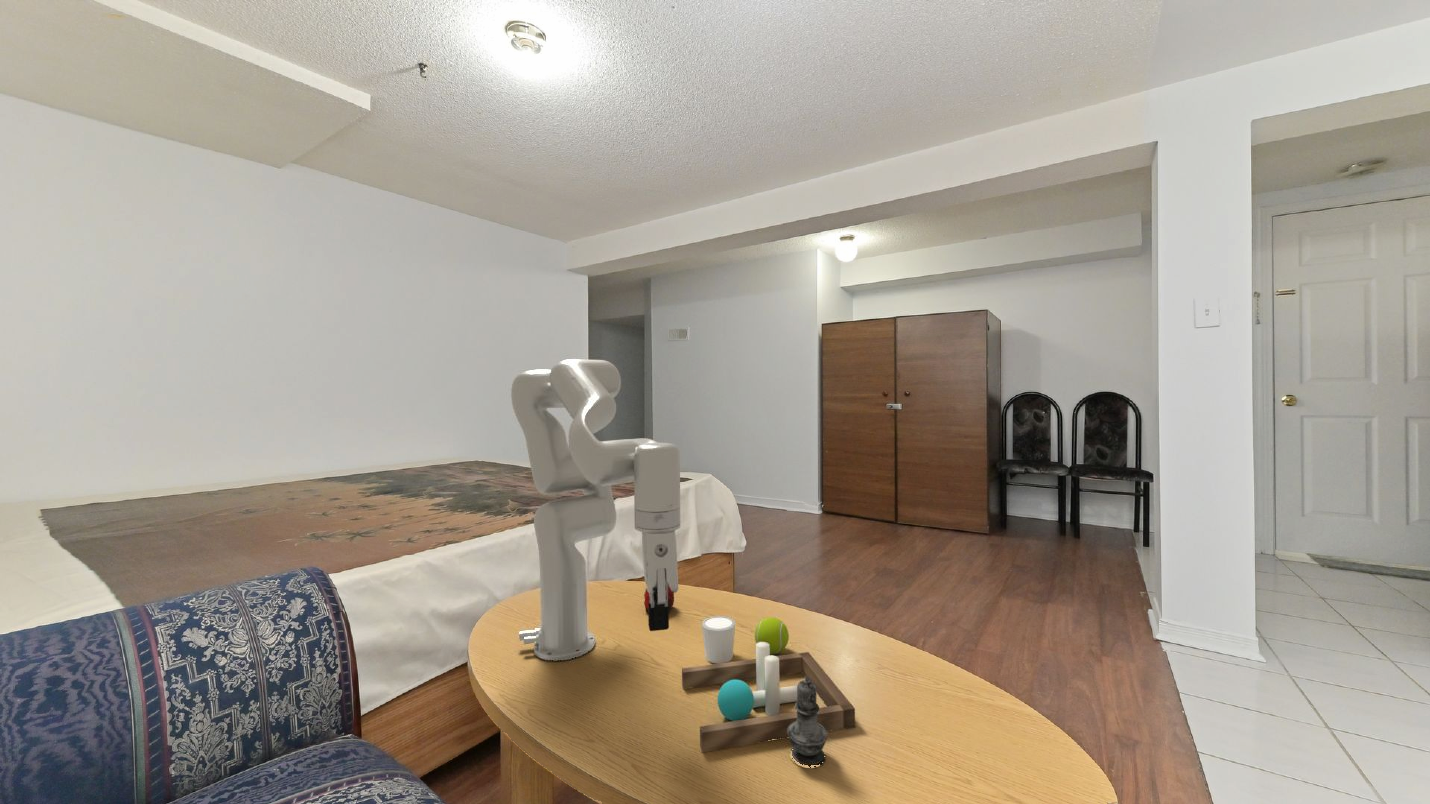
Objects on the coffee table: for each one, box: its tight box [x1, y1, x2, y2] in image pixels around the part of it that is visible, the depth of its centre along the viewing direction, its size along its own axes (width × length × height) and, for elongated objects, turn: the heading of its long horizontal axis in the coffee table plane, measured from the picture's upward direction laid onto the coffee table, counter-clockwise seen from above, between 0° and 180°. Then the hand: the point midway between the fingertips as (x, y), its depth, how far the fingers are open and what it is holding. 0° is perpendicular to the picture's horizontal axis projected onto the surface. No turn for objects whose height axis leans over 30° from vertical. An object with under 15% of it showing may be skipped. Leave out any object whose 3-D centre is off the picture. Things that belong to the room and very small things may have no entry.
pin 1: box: [755, 642, 771, 691], centre depth 94 cm, size 2×2×9 cm
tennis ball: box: [754, 616, 790, 655], centre depth 109 cm, size 7×7×7 cm
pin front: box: [752, 684, 798, 708], centre depth 92 cm, size 2×2×9 cm
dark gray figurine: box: [787, 676, 829, 768], centre depth 78 cm, size 6×6×12 cm
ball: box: [717, 680, 754, 722], centre depth 87 cm, size 6×6×6 cm
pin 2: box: [764, 654, 781, 716], centre depth 89 cm, size 2×2×9 cm
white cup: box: [701, 615, 736, 664], centre depth 108 cm, size 7×7×7 cm
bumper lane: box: [681, 651, 856, 753], centre depth 91 cm, size 25×19×3 cm
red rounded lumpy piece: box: [643, 584, 675, 612], centre depth 131 cm, size 8×7×15 cm
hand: (658, 628), depth 88 cm, fingers closed
